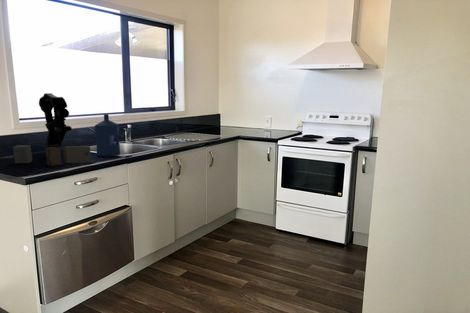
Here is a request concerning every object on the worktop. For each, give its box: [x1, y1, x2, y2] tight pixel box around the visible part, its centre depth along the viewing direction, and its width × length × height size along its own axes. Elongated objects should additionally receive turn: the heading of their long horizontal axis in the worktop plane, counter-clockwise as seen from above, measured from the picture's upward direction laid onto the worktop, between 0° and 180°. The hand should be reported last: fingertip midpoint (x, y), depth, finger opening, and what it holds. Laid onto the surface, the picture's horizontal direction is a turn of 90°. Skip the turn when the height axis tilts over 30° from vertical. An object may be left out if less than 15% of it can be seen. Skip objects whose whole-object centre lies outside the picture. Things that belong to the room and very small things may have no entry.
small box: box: [12, 144, 33, 164], centre depth 226 cm, size 8×6×10 cm
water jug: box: [94, 113, 121, 157], centre depth 251 cm, size 16×16×28 cm
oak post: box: [45, 147, 62, 167], centre depth 220 cm, size 7×6×10 cm
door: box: [62, 145, 92, 164], centre depth 224 cm, size 16×3×10 cm, turn 98°
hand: (61, 141), depth 234 cm, fingers closed
